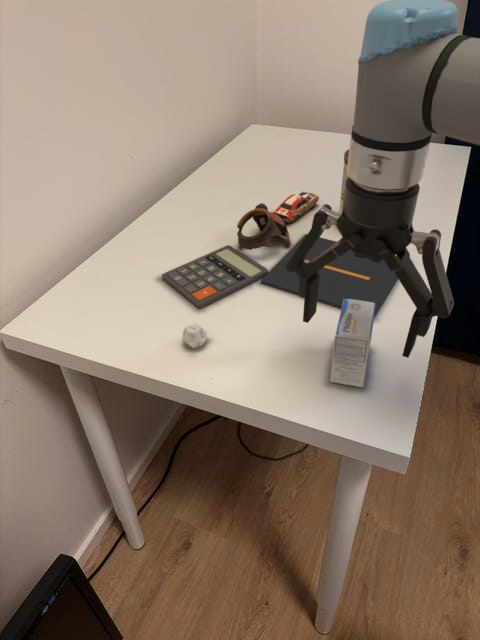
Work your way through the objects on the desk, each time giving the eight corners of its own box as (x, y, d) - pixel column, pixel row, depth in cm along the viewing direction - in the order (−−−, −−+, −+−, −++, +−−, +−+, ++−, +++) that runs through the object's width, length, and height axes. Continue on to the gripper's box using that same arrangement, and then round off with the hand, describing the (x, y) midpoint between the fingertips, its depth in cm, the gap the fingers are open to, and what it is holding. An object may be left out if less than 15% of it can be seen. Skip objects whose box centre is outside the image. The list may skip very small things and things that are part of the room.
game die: (190, 333, 74) (188, 317, 72) (211, 339, 72) (210, 324, 71) (178, 347, 71) (176, 332, 69) (200, 354, 70) (198, 338, 68)
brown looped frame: (298, 256, 90) (281, 229, 84) (253, 276, 93) (233, 251, 87) (286, 212, 97) (269, 184, 91) (245, 232, 100) (226, 206, 94)
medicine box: (362, 389, 64) (371, 340, 58) (328, 382, 65) (334, 334, 59) (368, 349, 69) (377, 301, 64) (337, 344, 71) (343, 296, 65)
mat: (407, 262, 86) (408, 259, 86) (373, 318, 75) (374, 315, 74) (305, 236, 95) (305, 233, 94) (260, 283, 83) (260, 280, 83)
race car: (270, 225, 102) (267, 207, 98) (304, 197, 107) (303, 178, 104) (288, 233, 99) (286, 214, 96) (323, 204, 104) (322, 185, 101)
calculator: (160, 273, 85) (228, 243, 92) (161, 278, 85) (228, 248, 92) (198, 304, 77) (269, 269, 84) (199, 308, 78) (269, 273, 85)
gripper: (259, 169, 53) (260, 318, 66) (507, 223, 42) (447, 386, 56) (290, 146, 58) (285, 290, 71) (520, 189, 47) (462, 347, 61)
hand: (356, 333), depth 64 cm, fingers open, 13 cm apart
